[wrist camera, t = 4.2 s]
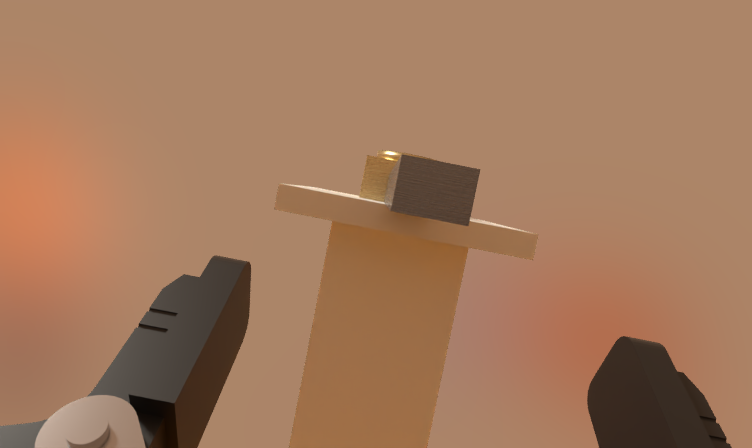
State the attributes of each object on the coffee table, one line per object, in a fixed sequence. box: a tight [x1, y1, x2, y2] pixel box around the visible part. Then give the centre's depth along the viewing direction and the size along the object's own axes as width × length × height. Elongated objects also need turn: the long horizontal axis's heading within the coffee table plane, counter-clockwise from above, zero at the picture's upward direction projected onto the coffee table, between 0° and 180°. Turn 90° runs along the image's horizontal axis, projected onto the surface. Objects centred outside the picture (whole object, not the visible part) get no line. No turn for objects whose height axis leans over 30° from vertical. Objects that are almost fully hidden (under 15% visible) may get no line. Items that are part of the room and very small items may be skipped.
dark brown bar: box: [359, 150, 480, 226], centre depth 24 cm, size 5×20×3 cm, turn 179°
